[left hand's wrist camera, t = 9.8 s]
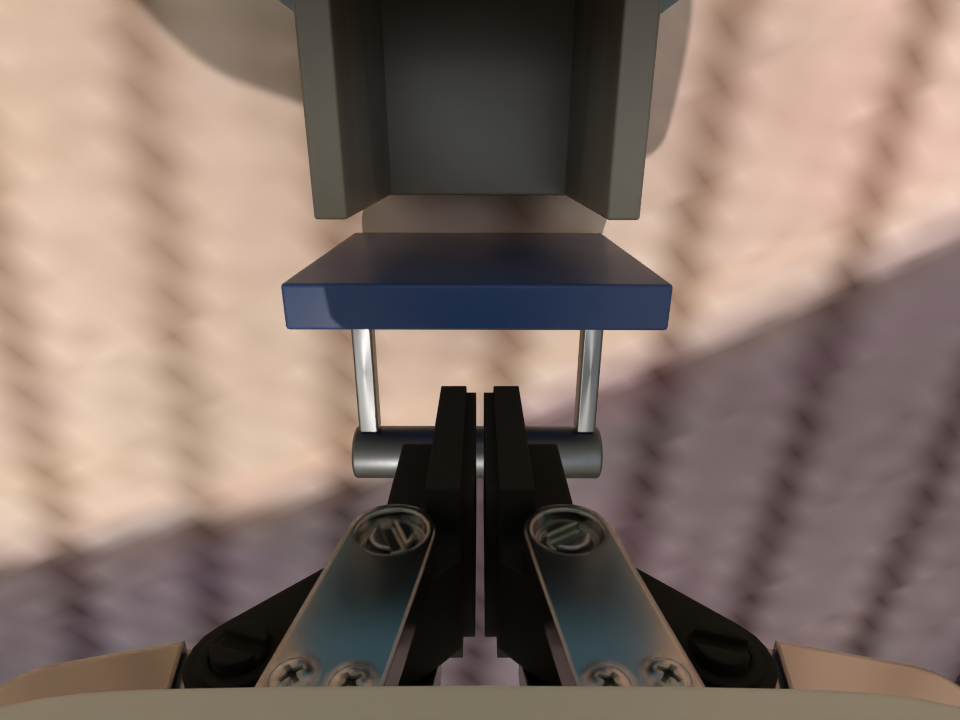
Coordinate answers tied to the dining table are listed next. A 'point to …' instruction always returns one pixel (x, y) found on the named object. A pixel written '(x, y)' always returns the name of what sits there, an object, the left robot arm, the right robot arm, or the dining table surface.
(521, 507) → the left robot arm
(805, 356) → the dining table surface
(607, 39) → the drawer
